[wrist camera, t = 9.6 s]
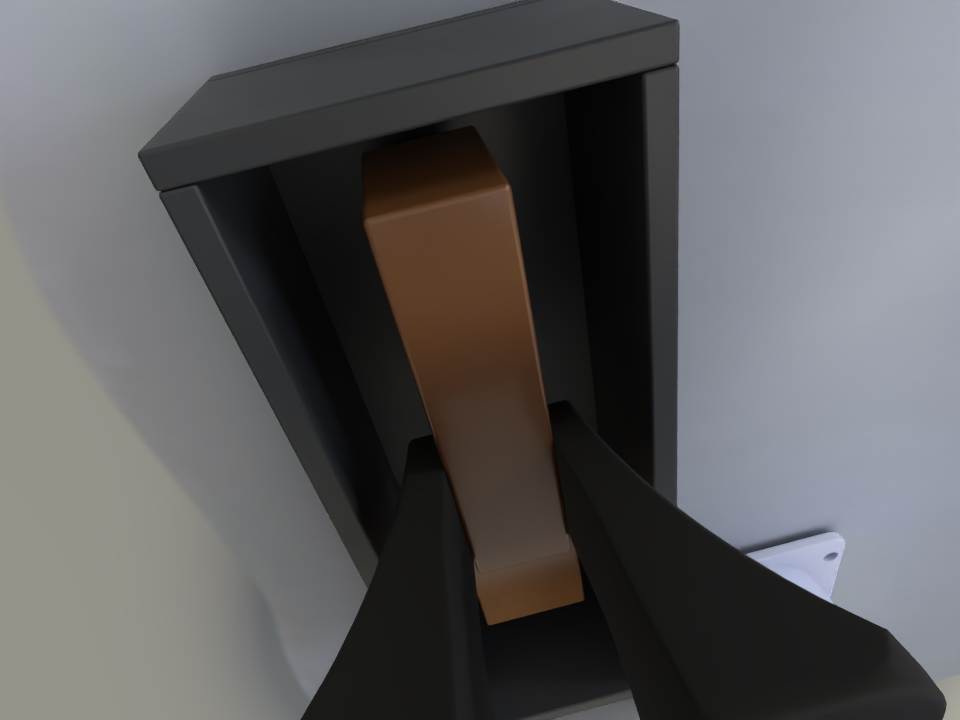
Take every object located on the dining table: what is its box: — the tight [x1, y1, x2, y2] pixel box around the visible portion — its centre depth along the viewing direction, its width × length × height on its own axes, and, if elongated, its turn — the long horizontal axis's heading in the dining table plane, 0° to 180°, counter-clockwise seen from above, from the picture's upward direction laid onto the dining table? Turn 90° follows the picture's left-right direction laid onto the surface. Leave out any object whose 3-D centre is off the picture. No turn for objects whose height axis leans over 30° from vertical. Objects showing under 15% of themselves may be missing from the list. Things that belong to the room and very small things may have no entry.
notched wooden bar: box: [361, 125, 585, 625], centre depth 13 cm, size 14×3×3 cm, turn 11°
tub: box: [138, 0, 679, 720], centre depth 14 cm, size 17×7×4 cm, turn 11°
